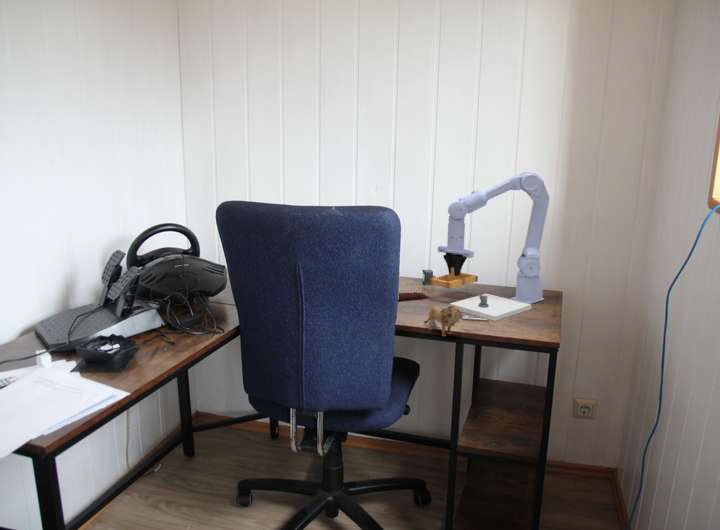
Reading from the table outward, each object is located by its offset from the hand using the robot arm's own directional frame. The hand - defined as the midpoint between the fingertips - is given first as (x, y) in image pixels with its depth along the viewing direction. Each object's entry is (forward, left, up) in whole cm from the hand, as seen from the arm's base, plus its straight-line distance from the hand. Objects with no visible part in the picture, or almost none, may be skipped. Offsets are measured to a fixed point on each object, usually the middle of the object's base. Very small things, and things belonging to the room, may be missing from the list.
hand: (454, 274), depth 188 cm
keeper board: (+1, +16, -8) cm, 18 cm away
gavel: (+17, -9, -9) cm, 21 cm away
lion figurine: (+31, +21, -9) cm, 38 cm away
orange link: (0, 0, -3) cm, 3 cm away
